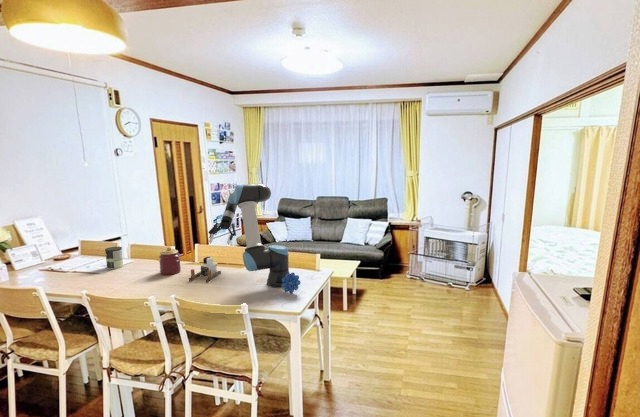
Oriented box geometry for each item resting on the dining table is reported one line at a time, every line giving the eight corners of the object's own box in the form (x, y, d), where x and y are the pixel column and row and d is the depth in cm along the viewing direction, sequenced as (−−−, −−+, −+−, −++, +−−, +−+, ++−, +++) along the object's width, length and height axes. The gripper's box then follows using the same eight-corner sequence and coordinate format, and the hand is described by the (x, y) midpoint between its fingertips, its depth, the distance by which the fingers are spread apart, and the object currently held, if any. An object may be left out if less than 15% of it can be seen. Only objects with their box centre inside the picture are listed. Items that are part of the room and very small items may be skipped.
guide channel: (202, 272, 225) (202, 263, 224) (221, 273, 223) (220, 264, 222) (188, 281, 209) (187, 271, 208) (208, 282, 206) (207, 272, 205)
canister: (166, 276, 218) (164, 250, 215) (156, 273, 226) (154, 247, 223) (184, 271, 228) (183, 246, 226) (174, 268, 236) (173, 243, 233)
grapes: (303, 290, 191) (302, 270, 190) (299, 295, 185) (298, 274, 183) (284, 288, 194) (283, 269, 193) (279, 293, 188) (279, 272, 186)
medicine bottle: (201, 275, 219) (199, 258, 217) (209, 272, 225) (208, 255, 223) (208, 277, 215) (207, 259, 214) (217, 274, 222) (216, 256, 220)
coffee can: (105, 270, 232) (103, 250, 230) (108, 266, 241) (106, 247, 240) (122, 268, 236) (121, 249, 235) (124, 264, 246) (122, 245, 244)
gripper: (245, 221, 246) (237, 246, 233) (213, 220, 250) (204, 244, 238) (242, 215, 240) (234, 241, 227) (209, 214, 244) (200, 239, 232)
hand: (218, 243), depth 233 cm, fingers open, 13 cm apart
